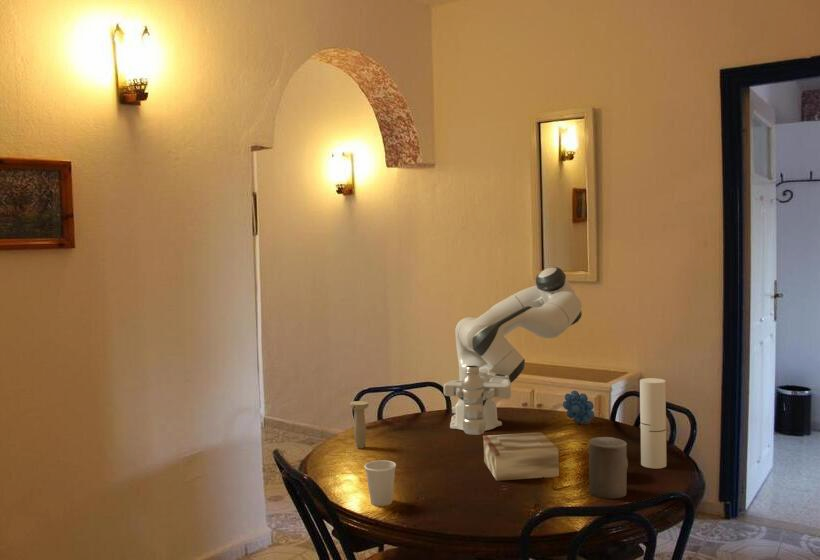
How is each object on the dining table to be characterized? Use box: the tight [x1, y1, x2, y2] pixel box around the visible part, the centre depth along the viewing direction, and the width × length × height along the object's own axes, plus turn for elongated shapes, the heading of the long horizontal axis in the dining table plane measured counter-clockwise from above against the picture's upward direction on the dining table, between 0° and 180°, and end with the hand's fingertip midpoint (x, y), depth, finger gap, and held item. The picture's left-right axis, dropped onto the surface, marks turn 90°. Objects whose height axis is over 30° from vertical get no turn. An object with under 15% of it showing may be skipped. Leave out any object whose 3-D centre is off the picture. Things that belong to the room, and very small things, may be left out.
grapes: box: [562, 390, 595, 425], centre depth 270 cm, size 12×7×12 cm, turn 58°
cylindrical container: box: [639, 377, 667, 470], centre depth 221 cm, size 7×7×25 cm
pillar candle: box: [588, 436, 628, 500], centre depth 200 cm, size 10×10×15 cm
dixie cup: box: [363, 459, 397, 507], centre depth 199 cm, size 8×8×10 cm
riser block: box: [482, 431, 560, 481], centre depth 222 cm, size 18×18×8 cm
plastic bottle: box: [461, 365, 486, 436], centre depth 220 cm, size 6×7×20 cm
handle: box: [349, 400, 369, 449], centre depth 250 cm, size 5×6×15 cm
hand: (472, 394), depth 219 cm, fingers closed on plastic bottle, 6 cm apart
